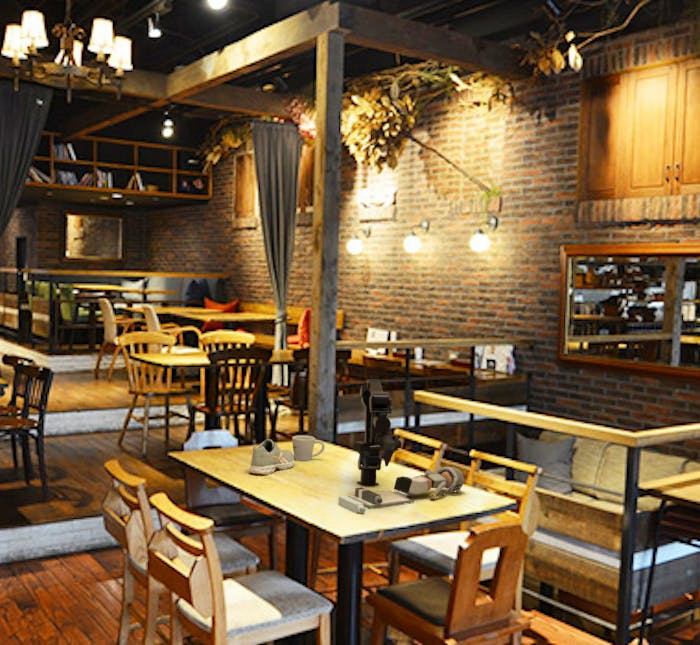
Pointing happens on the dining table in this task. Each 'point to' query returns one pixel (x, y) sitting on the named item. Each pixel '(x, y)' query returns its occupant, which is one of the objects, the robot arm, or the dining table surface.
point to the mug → (305, 447)
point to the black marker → (368, 495)
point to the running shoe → (270, 458)
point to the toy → (431, 482)
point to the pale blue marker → (351, 504)
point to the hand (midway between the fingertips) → (376, 467)
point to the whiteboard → (386, 499)
